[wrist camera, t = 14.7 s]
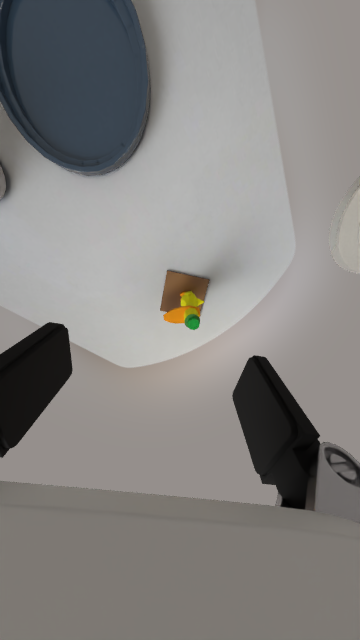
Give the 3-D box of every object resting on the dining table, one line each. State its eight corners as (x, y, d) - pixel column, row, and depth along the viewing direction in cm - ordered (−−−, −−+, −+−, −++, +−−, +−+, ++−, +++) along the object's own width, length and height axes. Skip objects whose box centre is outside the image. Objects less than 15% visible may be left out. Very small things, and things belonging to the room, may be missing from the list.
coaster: (209, 279, 32) (209, 280, 32) (198, 317, 36) (198, 318, 36) (167, 270, 32) (167, 270, 31) (160, 309, 35) (160, 310, 35)
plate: (161, -14, 18) (158, -43, 17) (141, 190, 26) (138, 187, 24) (-24, -82, 17) (-51, -124, 15) (14, 158, 25) (0, 151, 23)
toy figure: (169, 307, 34) (164, 340, 24) (165, 290, 33) (158, 317, 22) (202, 302, 34) (213, 333, 23) (200, 284, 32) (211, 309, 22)
